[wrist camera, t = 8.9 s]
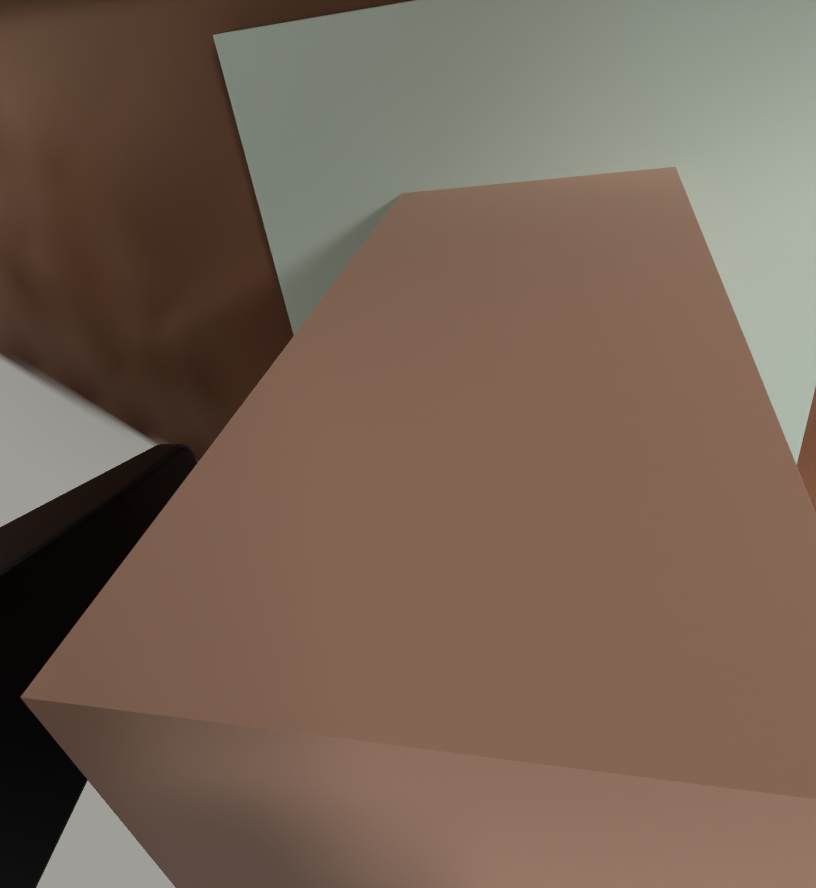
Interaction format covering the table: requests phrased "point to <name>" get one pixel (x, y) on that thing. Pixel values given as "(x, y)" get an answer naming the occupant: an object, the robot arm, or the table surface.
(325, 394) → the peg
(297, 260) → the mat
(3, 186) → the table surface
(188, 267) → the table surface
